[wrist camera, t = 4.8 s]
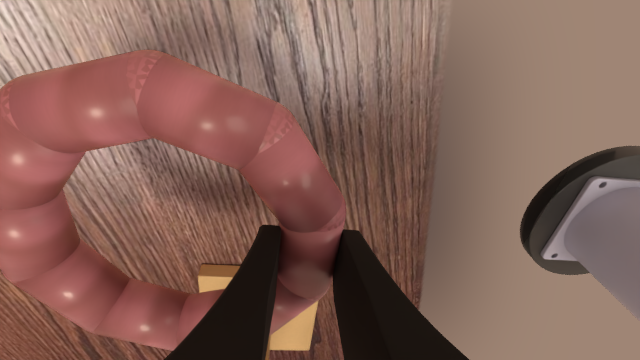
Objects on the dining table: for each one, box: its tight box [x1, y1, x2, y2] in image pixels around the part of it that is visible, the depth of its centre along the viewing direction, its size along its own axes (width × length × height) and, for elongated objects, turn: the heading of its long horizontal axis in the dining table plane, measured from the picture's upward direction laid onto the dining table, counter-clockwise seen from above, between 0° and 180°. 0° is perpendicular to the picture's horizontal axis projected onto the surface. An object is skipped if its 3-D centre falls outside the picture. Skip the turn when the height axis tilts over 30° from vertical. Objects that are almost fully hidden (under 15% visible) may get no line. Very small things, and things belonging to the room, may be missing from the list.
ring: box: [0, 50, 346, 351], centre depth 11 cm, size 11×12×2 cm
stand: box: [198, 264, 318, 360], centre depth 24 cm, size 9×9×7 cm
